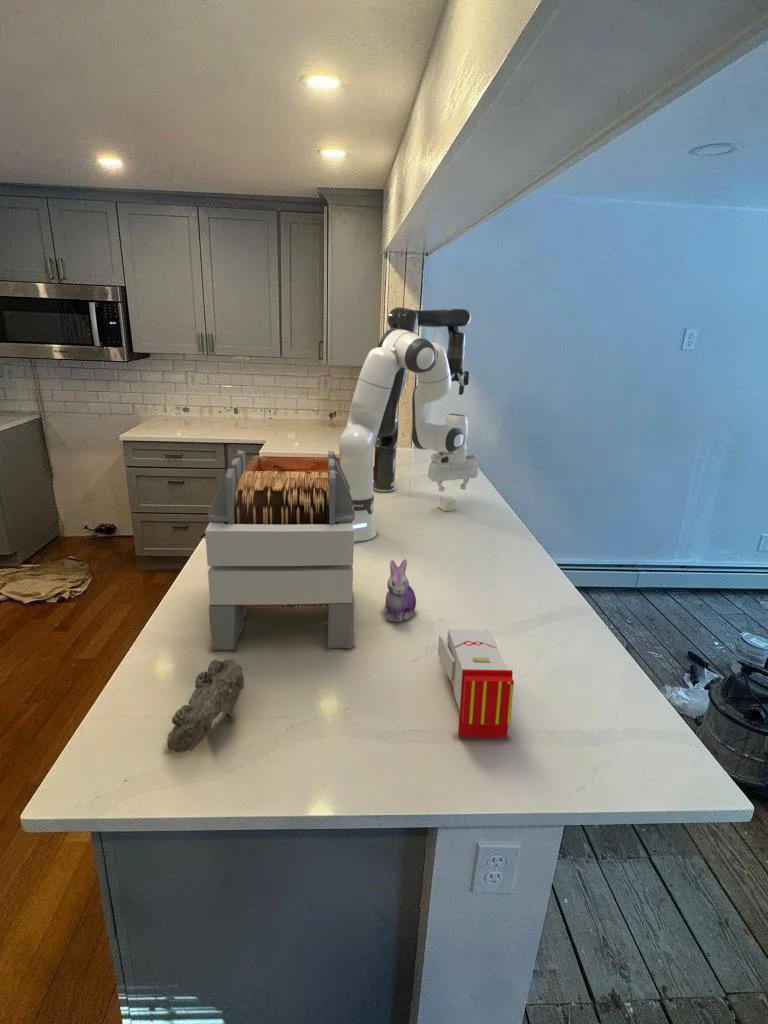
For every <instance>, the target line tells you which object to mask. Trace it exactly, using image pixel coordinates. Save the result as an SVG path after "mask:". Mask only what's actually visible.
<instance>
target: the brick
mask: <svg viewBox="0 0 768 1024" xmlns="http://www.w3.org/2000/svg"><path fill="white" fill-rule="evenodd" d="M456 503H457V499H456V498H454V497H452V496H451V495H447V496H440V497H439V507H438V508H439V509H441V510H442V511H444V512H450V511H451V512H452V511H455V510H456Z"/></svg>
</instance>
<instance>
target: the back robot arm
mask: <svg viewBox="0 0 768 1024" xmlns="http://www.w3.org/2000/svg"><path fill="white" fill-rule="evenodd" d="M471 320H472V315H471V313H470V311H469V310H468V309H465V308H451V309H445V308H443V309H441V308H439V309H420V310H419V309H418V310H417V309H412V308H408V307H403V306H402V307H401V306H397V307H394V308H392V309H391V310H390V311H389V312H388V315H387V324H388V326H389V329H392V328H401V329H404V330H407V331H410V332H413V333H415V334H417V329H418V327H424V328H447V333H448V342H447V350H446V357H447V360H448V364H449V369H450V375H451V382H457V383H458V384H459V387H458V395H460V396H462V395H463V394H464V393H465V386H468V385H469V381H470V380H469V378H470V371H468V370H464V371H463V369H464V363H465V362H464V361H465V344H466V334H465V333H464V332H462V331H461V330H460V327H466V326H467V325H469V324H470V322H471ZM407 374H408V369H405V368H402V367H401V368H400V369H399V370H398V372H397V373H396V375H395V378H394V382H393V386H392V389H391V392H390V396H389V399H388V402H387V405H386V408H385V412H384V415H383V418H382V422H381V425H380V428H379V431H378V435H377V438H376V441H375V444H374V452H373V491H375V492H378V493H391V492H394V491H395V485H396V481H395V480H396V462H397V446H398V442H399V441H398V440H399V428H400V427H399V426H400V425H399V419H398V417H397V409H398V404H399V402H400V399H401V396H402V393H403V390H404V387H405V385H406V380H407ZM462 376H463V378H462ZM272 468H273V469H275V468H276V469H278V470H279V471H280V472H285V471H286V472H287V471H288V472H304V471H301V470H295V469H294V470H293V469H285V468H282V467H280V466H279V465H278V464H274V465H273V466H272ZM306 472H307V475H308V472H309V475H310V472H311V471H306ZM320 473H321V472H319V476H320Z"/></svg>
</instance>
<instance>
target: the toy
mask: <svg viewBox="0 0 768 1024" xmlns="http://www.w3.org/2000/svg"><path fill="white" fill-rule="evenodd" d="M446 640H447V643H446V641H445V639H444V636H443V635H442V634H439V637H438V646H437V656H438V657H439V659H440V661H441V663H442V666H443V668H444V670H445V672H446V674H447V677H448V679H449V681H450V684H451V687H452V690H453V693H454V697H455V701H456V705H457V708H458V711H459V714H458V715H459V716H458V730H457V731H458V732H457V737H458V738H508V731H509V726H510V725H511V717H512V707H513V697H514V696H513V695H514V684H515V680H514V679H513V673H514V671H513V670H512V669H508V667H507V665H506V662H505V661H504V659H503V658H502V655H501V653H500V651H499V649H498V647H497V643H496V639H495V637H494V635H493V634H491V632H490V631H489V629H467V628H466V629H465V628H463V629H461V628H460V629H459V628H448V630H447V639H446Z"/></svg>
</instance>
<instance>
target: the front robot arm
mask: <svg viewBox="0 0 768 1024" xmlns="http://www.w3.org/2000/svg"><path fill="white" fill-rule="evenodd" d="M401 367H402V368H405V369H407V371H408V370H409V371H410V372H412V373H416V375H417V385H416V386H415V387H414V388H413V391H412V396H411V413H412V414H411V415H412V429H411V442H412V444H413V445H414V446H415V448H416V449H418V450H427V451H428V450H430V451H435V453H433V454H431V456H430V459H431V461H430V462H429V466H428V472H427V473H428V474H427V477H428V480H430V481H431V482H433V483H434V482H436V484H437V486H438V492H440V493H442V492H445V486H443V485H442V484H443V482H447V481H455V480H456V481H457V480H463V482H462V483H461V484H460V487H459V488H460V490H466V489H467V485H468V484H469V482H470V479H475V478H477V477H478V475H479V467H478V463H479V457H478V456H477V455H476V454H474V453H471V454H467V451H468V447H467V441H468V437H469V436H468V435H469V423H468V422H469V421H468V417H467V415H464V414H457V413H448V414H447V415H446V419H445V423H444V424H436V423H432V422H430V421H428V417H427V415H428V412H427V411H428V410H427V409H428V408H427V405H428V404H430V403H433V402H437V401H439V400H441V399H443V398H444V397H445V396H446V395H447V394H448V393H449V392H450V389H451V386H452V381H451V375H450V369H449V364H448V360H447V352H446V351H445V348H444V347H443V346H442V344H441V343H439V342H437V341H430V340H429V339H426V338H423V337H422V336H420V335H419V334H417V333H416V334H415V333H413V332H410V331H407V330H404V329H401V328H392V329H391V328H389V329H387V330H386V331H385V332H384V333H383V335H382V336H381V337H380V340H379V342H378V344H377V346H376V347H374V348H372V349H370V351H369V352H368V353H367V356H366V358H365V360H364V362H363V365H362V367H361V370H360V373H359V376H358V378H357V383H356V386H355V389H354V392H353V396H352V399H351V404H350V409H349V413H348V417H347V421H346V424H345V427H344V430H343V431H342V433H341V434H340V435H339V439H338V455H339V457H338V458H339V465H340V467H341V469H342V471H343V473H344V475H345V478H346V480H347V482H348V484H349V486H350V488H351V494H352V500H353V506H354V511H355V519H354V520H353V527H354V543H357V542H365V541H368V540H372V539H373V538H375V537H376V535H377V532H376V528H375V523H374V513H373V512H374V509H375V496H374V490H373V467H374V448H375V443H376V438H377V435H378V431H379V428H380V425H381V422H382V418H383V415H384V412H385V408H386V405H387V402H388V399H389V396H390V392H391V389H392V386H393V382H394V378H395V375H396V373H397V372H398V370H399V369H400V368H401ZM199 538H200V539H204V538H206V536H205V532H204V533H203V534H202V535H201V536H200V537H199Z"/></svg>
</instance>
